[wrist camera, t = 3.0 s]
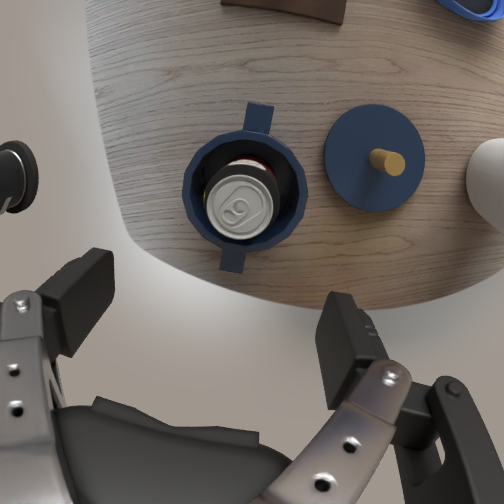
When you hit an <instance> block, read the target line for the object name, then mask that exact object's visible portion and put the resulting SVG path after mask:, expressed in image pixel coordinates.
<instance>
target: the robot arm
mask: <svg viewBox="0 0 504 504" xmlns="http://www.w3.org/2000/svg"><path fill="white" fill-rule="evenodd" d="M26 190H27V171H26V167H25V164H24V161H23V159H22V158H21V156H20V155H19V154H18V153H17V152H16V151H14V150H11V149H8V150H3V151H1V152H0V215H1V214H3V213H4V212H5V210H6V209H9V208H11V207H14V206H16V205H18V204H19V203H21V201H22V200H23V198H24V196H25V194H26ZM114 292H115V280H114V256H113V253H112V251H109V250H104V249H99V248H92V249H91V250H89V251H88V252H87V253H86V254H84V255H83V256H82V257H81V258H80V257H79V258H77V259H74V260H72V261H70V262H68V263H67V264H65V265H64V266H63V267H62V268H61V270H58V271H57V272H56V273H55V274H54V276H51V277H50V278H49V279H48V280H47V281H46V282H45V283H43V284H42V285H41V286H40V287H39V288H38V289H37V290H36V291H35V292H34V291H28V290H22V291H18V292H15V293H12V294H10V295H9V296H8V297H7V298H6V299H5V300H4V302H3V303H2V302H0V504H355V503H356V502H357V500H358V499H359V497H360V495H361V494H362V492H363V491H364V489H365V487H366V486H367V484H368V482H369V481H370V479H371V477H372V475H373V474H374V472H375V470H376V468H377V467H378V465H379V463H380V461H381V459H382V457H383V455H384V453H385V452H386V450H387V448H388V446H389V444H393V445H394V450H395V454H396V459H397V464H398V468H399V473H400V478H401V484H402V489H403V494H404V500H405V504H504V470H503V467H502V465H501V462H500V460H499V457H498V455H497V452H496V450H495V447H494V445H493V442H492V440H491V438H490V435H489V433H488V431H487V429H486V427H485V424H484V422H483V420H482V418H481V415H480V413H479V411H478V409H477V407H476V405H475V403H474V401H473V399H472V397H471V395H470V393H469V391H468V389H467V388H466V387H465V385H464V384H463V383H462V382H460V381H459V380H457V379H456V378H453V377H451V376H441V377H439V378H437V380H436V381H435V383H434V384H433V385H432V387H431V386H427V385H423V384H420V383H416V382H413V381H412V377H411V375H410V373H409V371H408V370H407V369H406V368H405V367H404V366H403V365H401V364H400V363H398V362H396V361H393V360H390V359H389V357H388V355H387V353H386V350H385V348H384V346H383V343H382V341H381V339H380V337H379V336H378V333H377V331H376V329H375V326H374V324H373V322H372V320H371V318H370V317H369V316H368V315H367V314H366V313H365V312H364V311H363V310H362V309H358V308H357V306H356V304H355V302H354V300H353V297H352V295H351V294H347V293H340V292H334V291H331V292H330V293H329V294H328V296H327V299H326V302H325V305H324V308H323V311H322V314H321V317H320V320H319V322H318V325H317V329H316V336H315V342H316V347H317V353H318V358H319V363H320V368H321V373H322V379H323V385H324V390H325V396H326V402H327V407H328V410H336V411H335V412H334V413H333V415H332V416H331V417H330V419H329V420H328V421H327V422H326V423H325V425H324V426H323V427H322V428H321V430H320V431H319V432H318V433H317V435H316V436H315V437H314V438H313V439H312V440H311V442H310V443H309V444H308V445H307V446H306V447H305V449H304V450H303V451H302V452H301V453H300V454H299V455H298V456H297V457H296V459H295V460H294V461H292V460H291V459H289V458H288V457H286V456H285V455H283V454H282V453H280V452H278V451H276V450H274V449H272V448H270V447H268V446H265V445H262V444H259V432H256V431H247V430H239V429H232V428H226V427H219V426H211V427H210V426H209V427H174V426H170V425H167V424H165V423H163V422H161V421H159V420H157V419H155V418H153V417H151V416H149V415H147V414H145V413H143V412H141V411H139V410H137V409H136V408H134V407H131V406H127V405H124V404H121V403H117V402H114V401H111V400H108V399H105V398H102V397H99V396H96V398H95V400H94V402H93V404H92V406H69V407H67V406H66V403H65V398H64V393H63V389H62V385H61V379H60V374H59V368H58V363H57V360H56V358H57V357H58V355H59V354H61V355H64V356H67V357H69V358H72V357H73V355H74V354H75V352H76V351H77V349H78V348H79V347H80V345H81V344H82V342H83V341H84V339H85V338H86V337H87V335H88V334H89V333H90V331H91V330H92V328H93V327H94V326H95V324H96V323H97V322H98V320H99V319H100V317H101V316H102V315H103V313H104V312H105V311H106V309H107V308H108V307H109V305H110V304H111V303H112V300H113V297H114ZM439 437H440V439H441V442H442V445H443V448H444V451H445V460H444V463H443V465H442V464H441V460H440V457H439V454H438V450H437V447H436V444H435V441H436V440H437V439H438V438H439Z"/></svg>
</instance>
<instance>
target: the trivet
mask: <svg viewBox="0 0 504 504" xmlns="http://www.w3.org/2000/svg"><path fill="white" fill-rule="evenodd" d="M220 3H221V5H231V6H241V7H250V8H258V9H265V10H271V11H277V12H283V13H288V14H293V15H298V16H303V17H308V18H312V19H316V20H320V21H324V22H328V23H332V24H335V25H339V26H341V25H342V24H343V18H344V12H345V5H346V0H221V1H220Z"/></svg>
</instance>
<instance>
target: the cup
mask: <svg viewBox="0 0 504 504" xmlns="http://www.w3.org/2000/svg"><path fill="white" fill-rule="evenodd" d="M466 187H467V192H468V196H469V199H470V201H471V203H472V205H473V207H474V208H475V210H476V211H477V212H478V213H479V214H480V215H481V216H482V217H483V218H484V219H485V220H486V221H487V222H489V223H490V224H491V225H492V226H494V227H495V228H496V229H497V230H499V231H500V232H501V233H502V234H503V235H504V139H492V140H488V141H486V142H484V143H482V144H481V145H480V146H478V148H477V149H476V150H475V151H474V153H473V154H472V156H471V158H470V161H469V164H468V167H467V173H466Z"/></svg>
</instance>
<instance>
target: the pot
mask: <svg viewBox="0 0 504 504" xmlns="http://www.w3.org/2000/svg"><path fill="white" fill-rule="evenodd" d="M273 110H274V106H269V105H263V104H257V103H252V102H248V104H247V109H246V115H245V120H244V125H243V130H241V131H236V132H232V133H228V134H223V135H219V136H217V137H215V138H214V139H212V140H211V141H210V142H208V143H207V144H206V145H204V146H203V147H202V148H200V149H199V150H198V151H197V152H196V153H195V155H194V157H193V158H192V160H191V162H190V164H189V165H188V167H187V169H186V170H185V173H184V181H183V189H182V199H183V202H184V206H185V209H186V213H187V216H188V219H189V220H190V222H191V223H192V224H193V225H194V227H195V228H196V229H197V231H198V232H199V233H200V234H201V236H202V237H203V238H205V239H207V240H208V241H210V242H212V243H213V244H215V245H217V246H218V247H220V248H222V256H221V262H220V270H223V271H228V272H233V273H239V274H242V272H243V266H244V261H245V256H246V253H250V252H255V251H261V250H266V249H270V248H271V247H273V246H274V245H276V244H278V243H279V242H281V241H283V240H284V239H286V238H287V237H288V236H290V234H291V233H292V231H293V230H294V229H295V227H296V226H297V225H298V223H299V222H300V221H301V219H302V217H303V214H304V210H305V206H306V202H307V198H308V190H307V184H306V178H305V173H304V170H303V168H302V166H301V165H300V163H299V162H298V160H297V159H296V157H295V156H294V154H293V153H292V151H291V150H290V149H289V148H288V147H287V146H286V145H285V144H283V143H282V142H280V141H279V140H277V139H276V138H274V137H273V136H271V135H269V131H270V126H271V120H272V115H273ZM241 155H254V156H258V157H260V158H262V159H264V160H265V161H266V162H267V163H268V164H269V165H270V166H271V167H272V169H273V171H274V173H275V176H276V181H277V186H278V191H279V196H280V208H279V212H278V215H277V217H276V219H275V221H274V222H273V224H272V225H271V226H270V227H269V228H268V229H267V230H266V231H264V232H263V233H261V234H260V235H257V236H255V237H252V238H248V239H233V238H229V237H227V236H225V235H223V234H221V233H220V232H219V231H217V230H216V229H215V228H214V226H213V225H212V224H211V222H210V221H209V219H208V217H207V215H206V212H205V209H204V193H205V189H206V187H207V185H208V183H209V181H210V180H211V178H212V177H213V176H214V175H215V174H216V173H217V172H218V171H219V170H220V169H221V168H222V167H223V166H224V165H226V164H227V163H228V162H229V161H230V160H231V159H233V158H235V157H237V156H241Z"/></svg>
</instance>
